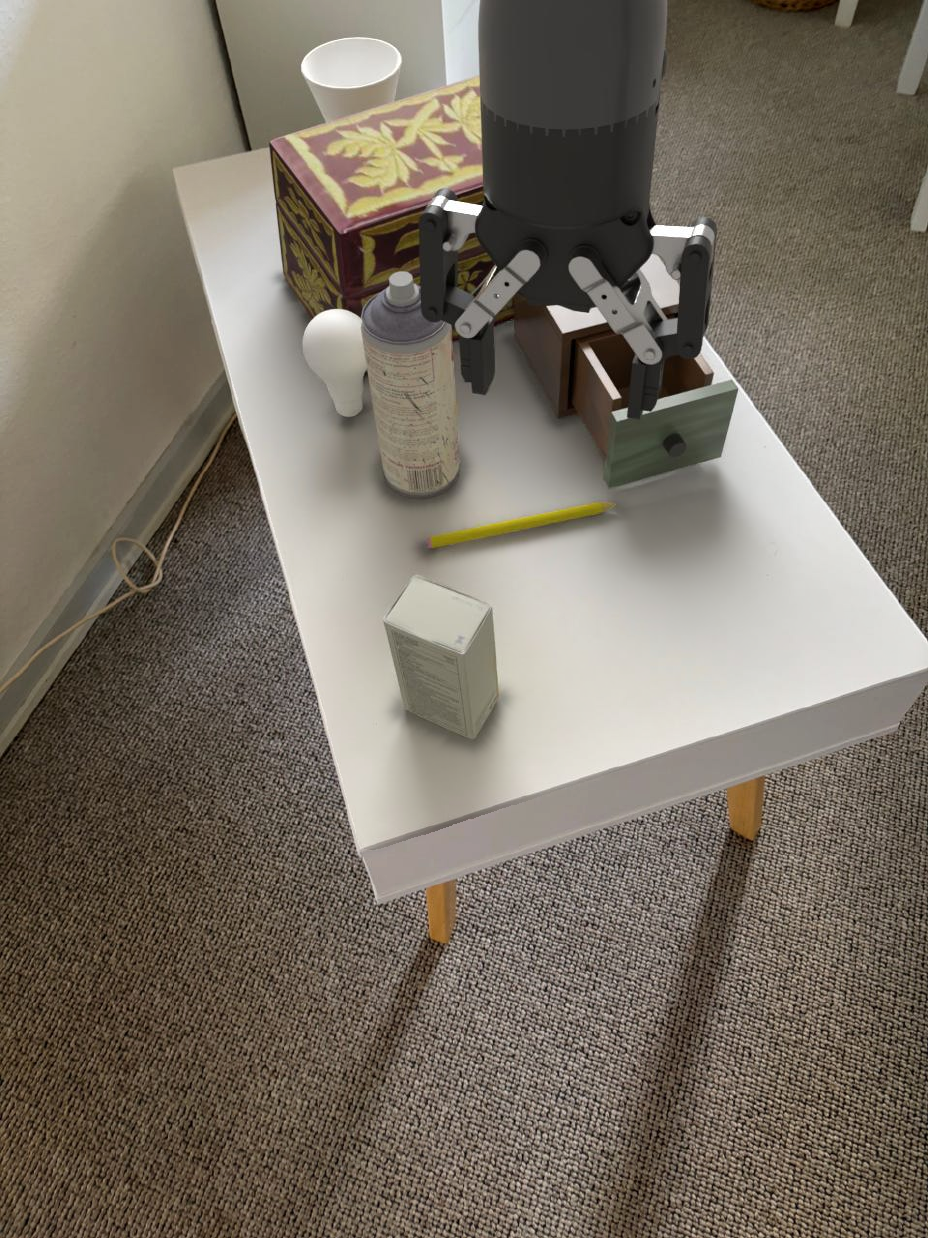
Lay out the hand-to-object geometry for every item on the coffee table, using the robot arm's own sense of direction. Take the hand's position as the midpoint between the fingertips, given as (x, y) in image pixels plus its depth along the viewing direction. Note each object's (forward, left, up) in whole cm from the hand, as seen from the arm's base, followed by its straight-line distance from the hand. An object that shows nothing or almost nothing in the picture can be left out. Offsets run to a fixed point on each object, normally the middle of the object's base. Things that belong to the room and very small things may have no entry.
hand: (559, 397), depth 53 cm
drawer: (-2, -24, -26) cm, 36 cm away
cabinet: (+5, -34, -27) cm, 43 cm away
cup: (+37, -56, -27) cm, 72 cm away
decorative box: (+23, -41, -27) cm, 54 cm away
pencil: (+5, -12, -27) cm, 30 cm away
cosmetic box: (+6, +6, -27) cm, 28 cm away
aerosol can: (+16, -16, -27) cm, 35 cm away
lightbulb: (+25, -21, -27) cm, 42 cm away
